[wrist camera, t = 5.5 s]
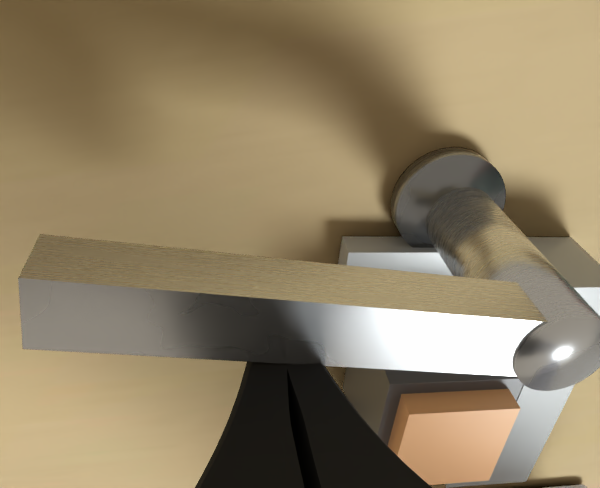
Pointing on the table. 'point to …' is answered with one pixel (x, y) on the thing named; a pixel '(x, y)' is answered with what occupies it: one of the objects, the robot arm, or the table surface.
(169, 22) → the table surface
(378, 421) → the orange and grey block
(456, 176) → the door handle base
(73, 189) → the table surface
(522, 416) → the socket
